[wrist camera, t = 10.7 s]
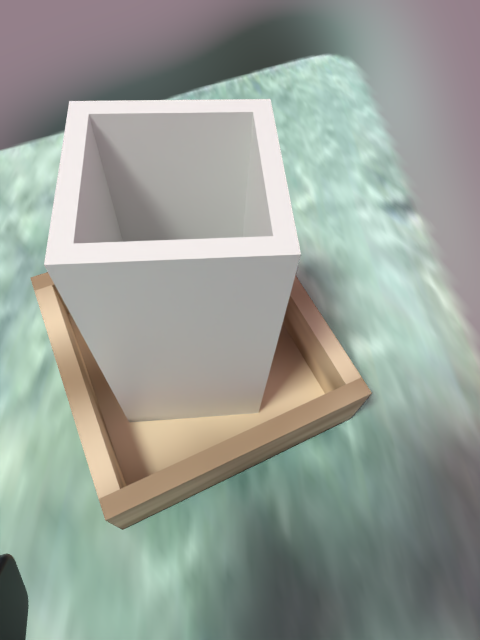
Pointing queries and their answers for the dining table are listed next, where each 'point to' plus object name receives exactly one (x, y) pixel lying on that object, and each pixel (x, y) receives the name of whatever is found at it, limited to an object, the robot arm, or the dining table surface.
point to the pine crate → (202, 432)
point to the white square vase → (175, 250)
